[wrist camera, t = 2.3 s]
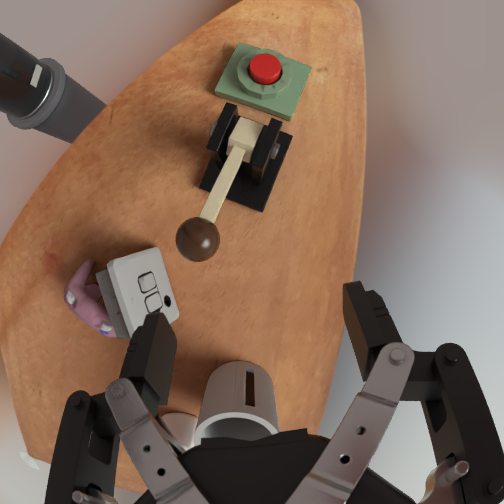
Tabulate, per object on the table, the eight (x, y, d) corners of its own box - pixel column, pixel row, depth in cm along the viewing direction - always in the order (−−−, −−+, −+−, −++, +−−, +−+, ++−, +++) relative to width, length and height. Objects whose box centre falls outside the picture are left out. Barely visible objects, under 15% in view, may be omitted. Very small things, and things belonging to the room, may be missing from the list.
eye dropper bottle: (168, 402, 40) (146, 455, 28) (203, 419, 40) (191, 474, 28) (159, 421, 40) (136, 473, 28) (192, 437, 41) (179, 491, 29)
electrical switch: (181, 315, 39) (154, 344, 29) (147, 322, 39) (114, 350, 30) (159, 245, 38) (125, 254, 28) (125, 255, 38) (86, 267, 29)
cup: (215, 418, 40) (205, 474, 28) (200, 365, 39) (183, 416, 27) (277, 410, 40) (285, 466, 28) (268, 356, 39) (274, 406, 27)
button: (245, 78, 33) (244, 72, 31) (256, 56, 32) (256, 49, 30) (273, 88, 33) (274, 82, 31) (284, 65, 32) (285, 59, 31)
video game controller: (84, 275, 39) (53, 303, 33) (90, 253, 37) (55, 280, 31) (138, 317, 40) (111, 350, 34) (147, 297, 38) (118, 332, 32)
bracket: (262, 212, 37) (268, 208, 24) (200, 189, 37) (175, 173, 24) (291, 138, 36) (311, 101, 24) (231, 115, 36) (222, 70, 23)
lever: (209, 273, 23) (211, 261, 20) (170, 257, 23) (166, 243, 20) (263, 145, 28) (270, 123, 25) (231, 134, 28) (235, 111, 25)
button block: (215, 95, 36) (212, 84, 32) (239, 48, 35) (238, 34, 31) (289, 121, 36) (293, 112, 33) (309, 72, 35) (315, 60, 32)
